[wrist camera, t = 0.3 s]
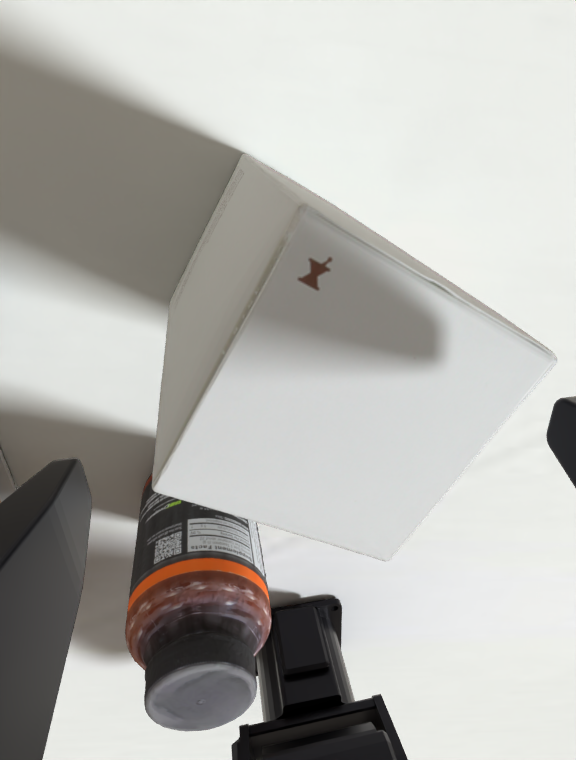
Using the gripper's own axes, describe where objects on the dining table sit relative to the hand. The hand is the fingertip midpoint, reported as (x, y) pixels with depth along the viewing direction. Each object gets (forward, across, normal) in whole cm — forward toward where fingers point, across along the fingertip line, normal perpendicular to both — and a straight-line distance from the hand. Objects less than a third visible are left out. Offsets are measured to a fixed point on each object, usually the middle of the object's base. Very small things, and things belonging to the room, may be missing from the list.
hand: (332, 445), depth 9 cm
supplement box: (+14, -1, +1) cm, 15 cm away
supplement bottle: (+15, +4, +13) cm, 20 cm away
